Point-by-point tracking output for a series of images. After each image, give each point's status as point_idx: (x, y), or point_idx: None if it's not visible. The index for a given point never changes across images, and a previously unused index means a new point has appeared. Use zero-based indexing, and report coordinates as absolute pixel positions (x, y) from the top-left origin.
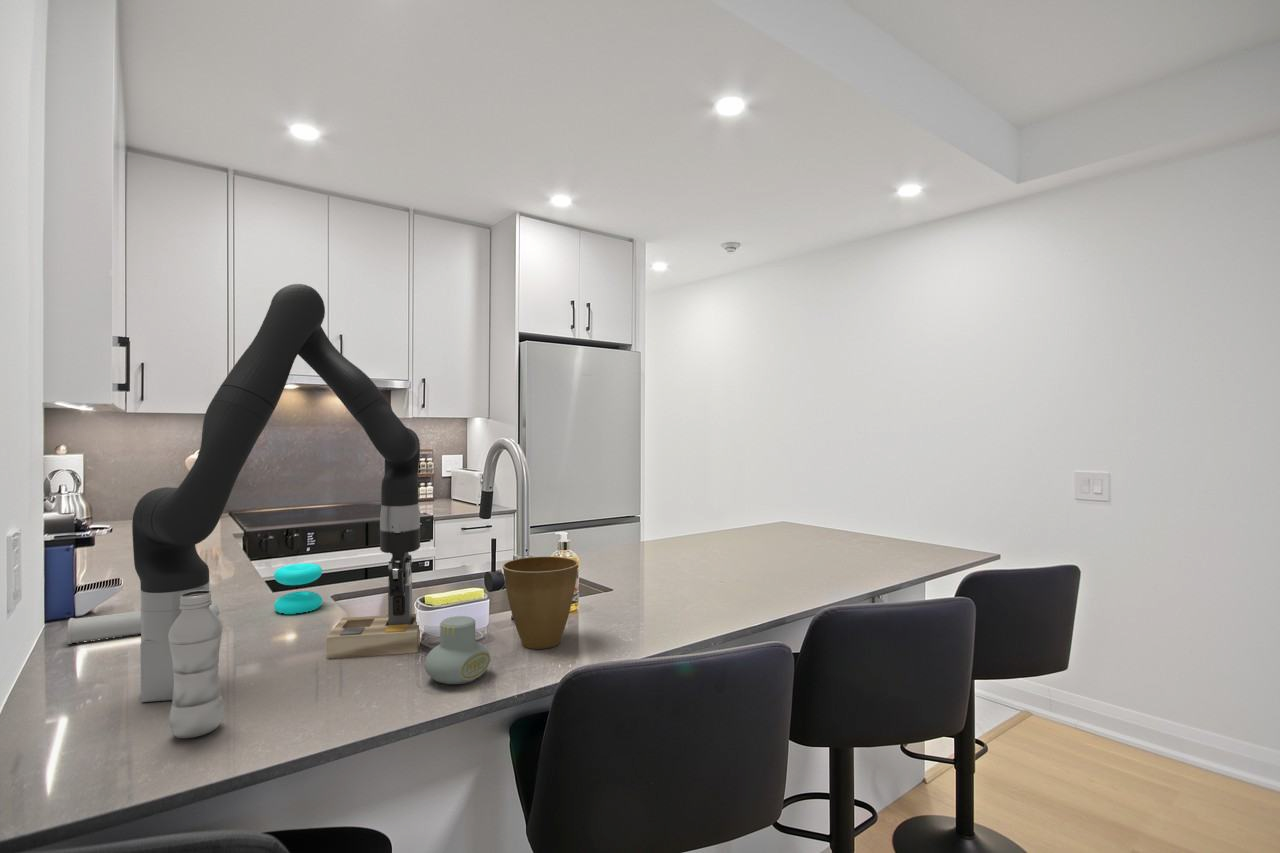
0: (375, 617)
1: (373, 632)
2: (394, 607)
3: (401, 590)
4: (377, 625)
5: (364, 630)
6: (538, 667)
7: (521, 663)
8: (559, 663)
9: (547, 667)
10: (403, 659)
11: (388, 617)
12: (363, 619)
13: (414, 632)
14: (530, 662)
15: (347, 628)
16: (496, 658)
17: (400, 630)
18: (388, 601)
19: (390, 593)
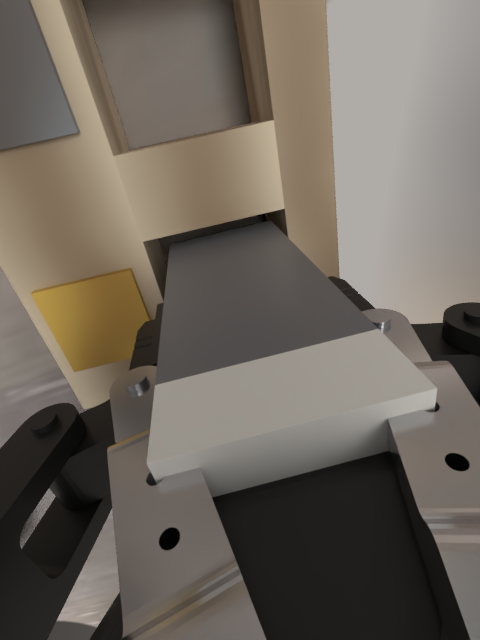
0: (301, 113)
1: (19, 226)
2: (134, 345)
3: (42, 527)
4: (146, 195)
5: (40, 152)
6: (68, 596)
7: (83, 571)
8: (99, 611)
9: (72, 604)
10: (29, 341)
11: (169, 264)
12: (264, 35)
13: (81, 400)
14: (93, 580)
15: (8, 3)
16: (102, 531)
17: (65, 355)
18: (163, 308)
19: (12, 441)
